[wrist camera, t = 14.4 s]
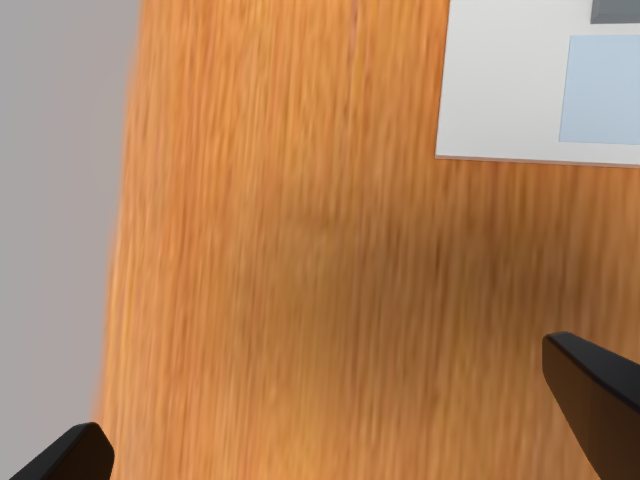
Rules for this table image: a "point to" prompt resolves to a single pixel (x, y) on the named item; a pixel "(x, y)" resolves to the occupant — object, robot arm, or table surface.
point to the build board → (542, 82)
